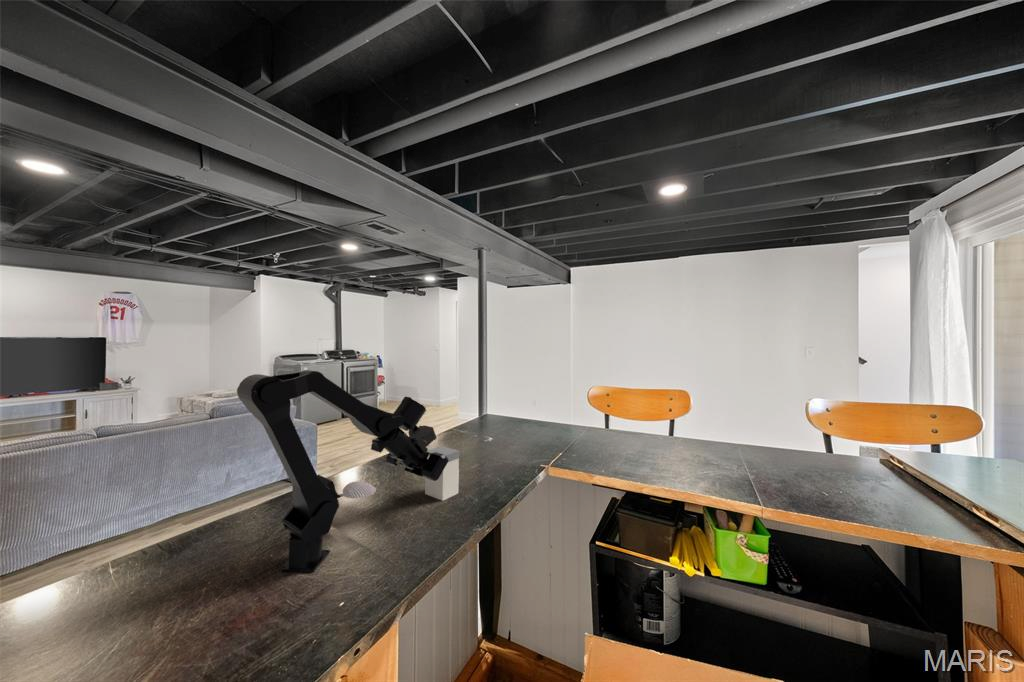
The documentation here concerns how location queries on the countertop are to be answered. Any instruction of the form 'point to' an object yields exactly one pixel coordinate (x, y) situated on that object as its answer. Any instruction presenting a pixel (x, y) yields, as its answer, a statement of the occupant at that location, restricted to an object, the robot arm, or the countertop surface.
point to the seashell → (358, 490)
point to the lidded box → (445, 476)
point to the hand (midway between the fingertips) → (433, 475)
